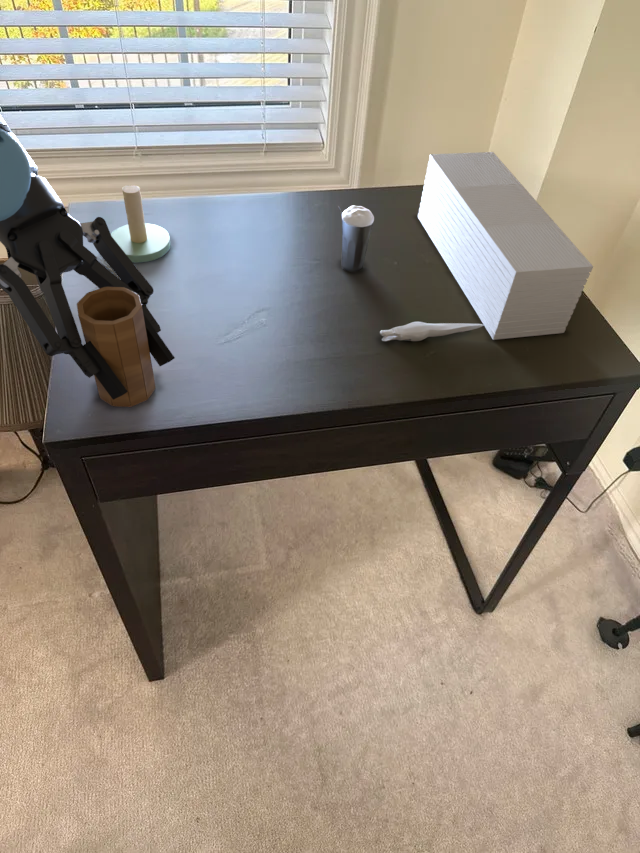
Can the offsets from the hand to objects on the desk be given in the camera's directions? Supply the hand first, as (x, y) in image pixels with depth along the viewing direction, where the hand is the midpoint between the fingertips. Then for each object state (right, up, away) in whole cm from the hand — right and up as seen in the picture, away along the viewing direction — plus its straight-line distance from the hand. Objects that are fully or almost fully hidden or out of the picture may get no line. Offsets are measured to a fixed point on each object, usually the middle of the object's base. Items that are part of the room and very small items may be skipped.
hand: (144, 378), depth 72 cm
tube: (-3, -1, +4) cm, 5 cm away
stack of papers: (+45, +18, +26) cm, 55 cm away
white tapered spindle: (+35, +7, +15) cm, 38 cm away
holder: (-7, +22, +24) cm, 33 cm away
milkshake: (+24, +18, +24) cm, 39 cm away
